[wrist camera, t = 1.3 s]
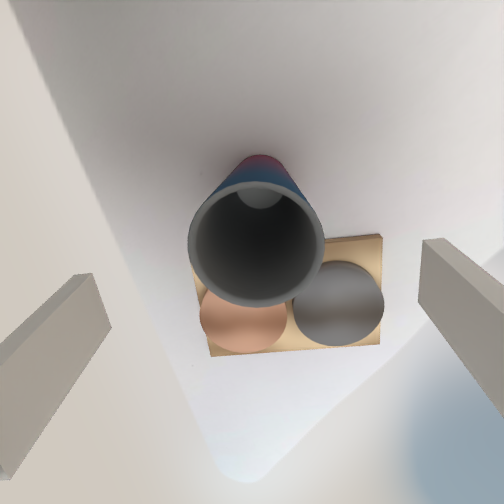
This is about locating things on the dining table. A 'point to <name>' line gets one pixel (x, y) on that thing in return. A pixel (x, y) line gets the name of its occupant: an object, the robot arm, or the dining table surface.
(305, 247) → the cup
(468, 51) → the dining table surface
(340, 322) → the stand board
